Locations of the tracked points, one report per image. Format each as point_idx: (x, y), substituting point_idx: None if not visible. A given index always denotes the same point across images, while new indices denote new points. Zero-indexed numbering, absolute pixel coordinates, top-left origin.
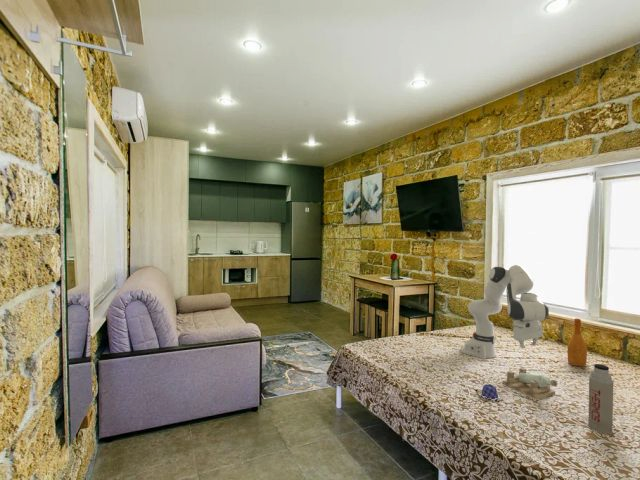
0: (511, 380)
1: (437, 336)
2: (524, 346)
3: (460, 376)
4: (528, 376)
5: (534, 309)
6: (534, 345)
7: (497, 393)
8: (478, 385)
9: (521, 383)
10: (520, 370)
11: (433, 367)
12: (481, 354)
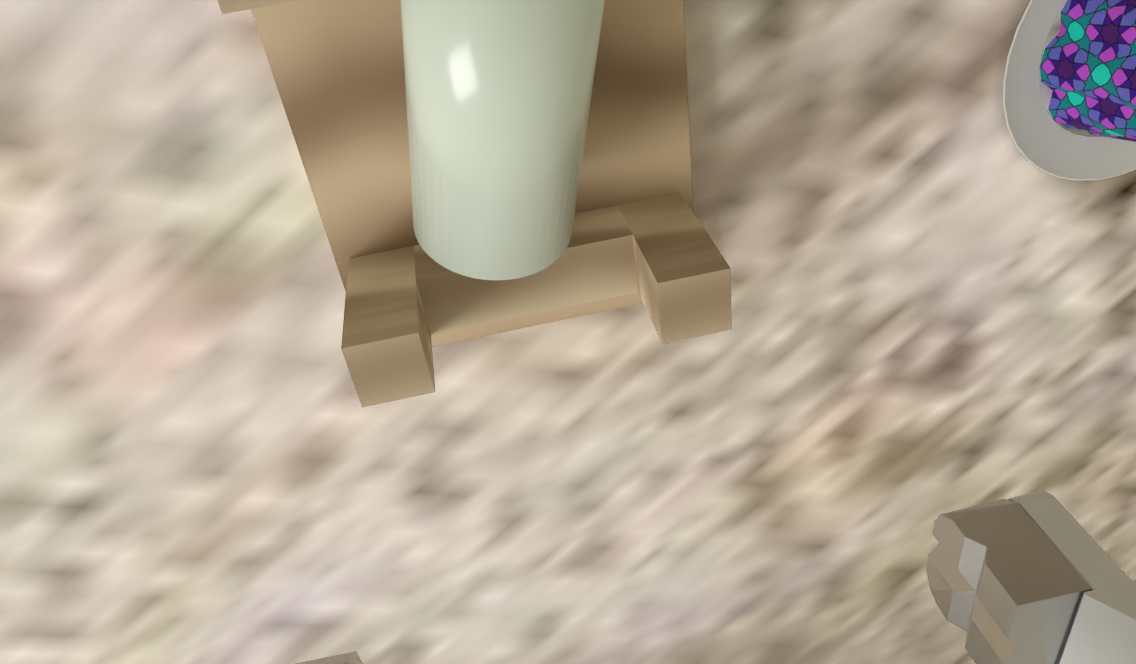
0: (685, 215)
1: None
2: (1018, 545)
3: (961, 463)
4: (581, 92)
5: None
6: (343, 654)
7: (1020, 51)
8: (995, 276)
9: None
10: (427, 357)
11: None
12: None
